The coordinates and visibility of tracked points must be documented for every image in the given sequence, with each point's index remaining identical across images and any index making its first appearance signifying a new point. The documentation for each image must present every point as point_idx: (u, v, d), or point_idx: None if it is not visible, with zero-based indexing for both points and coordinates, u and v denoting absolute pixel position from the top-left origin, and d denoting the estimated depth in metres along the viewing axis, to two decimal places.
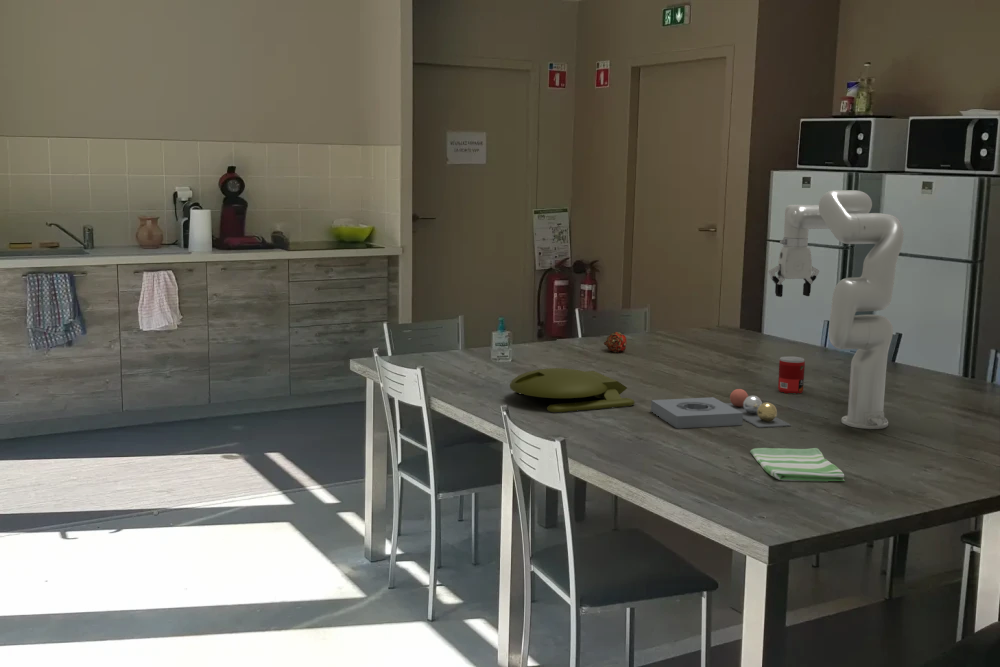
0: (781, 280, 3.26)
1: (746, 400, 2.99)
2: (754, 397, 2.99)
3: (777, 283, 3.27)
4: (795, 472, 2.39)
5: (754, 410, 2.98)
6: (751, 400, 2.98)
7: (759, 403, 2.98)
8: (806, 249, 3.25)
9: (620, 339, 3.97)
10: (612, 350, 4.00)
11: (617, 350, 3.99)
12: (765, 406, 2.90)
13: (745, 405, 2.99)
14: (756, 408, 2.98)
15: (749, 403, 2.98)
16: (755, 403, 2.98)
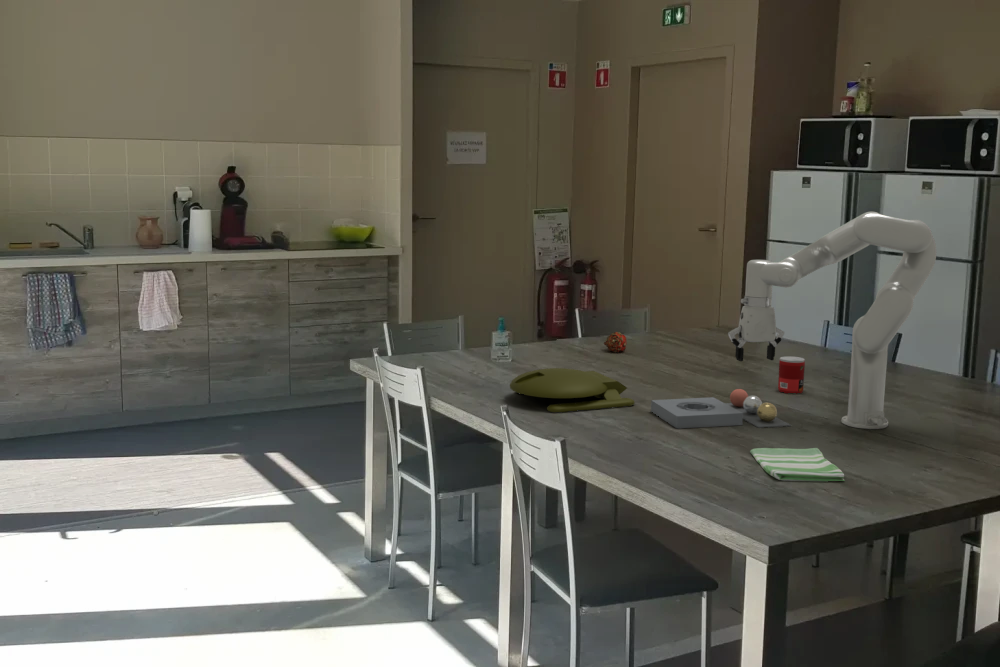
0: (742, 343, 2.96)
1: (746, 400, 2.99)
2: (754, 397, 2.99)
3: (737, 346, 2.96)
4: (795, 472, 2.39)
5: (754, 410, 2.98)
6: (751, 400, 2.98)
7: (759, 403, 2.98)
8: (769, 309, 2.94)
9: (620, 339, 3.97)
10: (612, 350, 4.00)
11: (617, 350, 3.99)
12: (765, 406, 2.90)
13: (745, 405, 2.99)
14: (756, 408, 2.98)
15: (749, 403, 2.98)
16: (755, 403, 2.98)
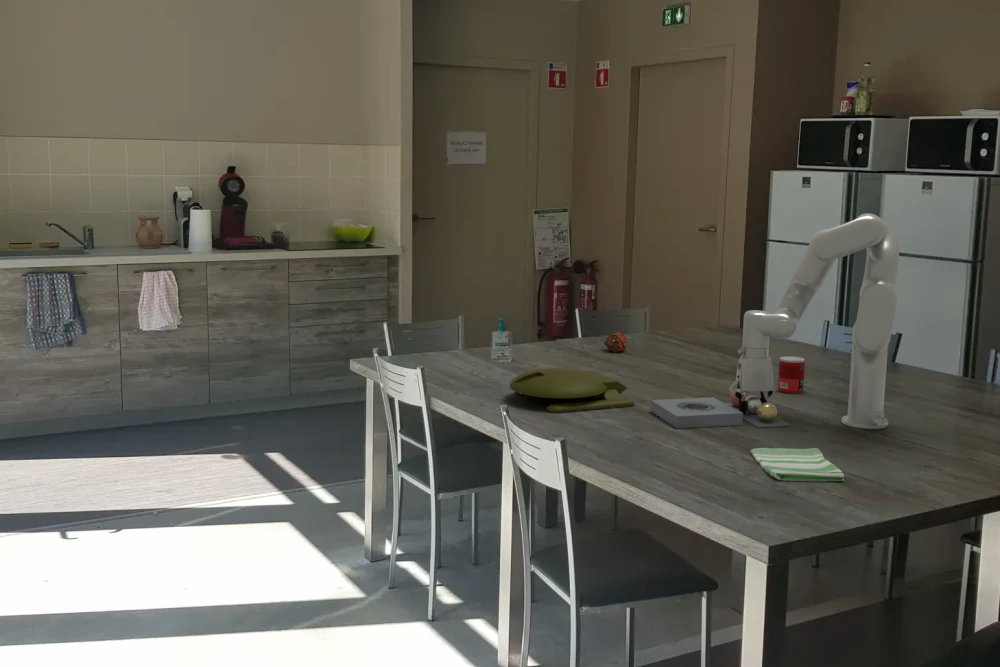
0: (744, 396, 2.98)
1: (746, 400, 2.99)
2: (754, 397, 2.99)
3: (741, 400, 2.98)
4: (795, 472, 2.39)
5: (754, 410, 2.98)
6: (751, 400, 2.98)
7: (759, 403, 2.98)
8: (767, 360, 2.96)
9: (620, 339, 3.97)
10: (612, 350, 4.00)
11: (617, 350, 3.99)
12: (765, 406, 2.90)
13: None
14: (756, 408, 2.98)
15: (749, 403, 2.98)
16: (755, 403, 2.98)
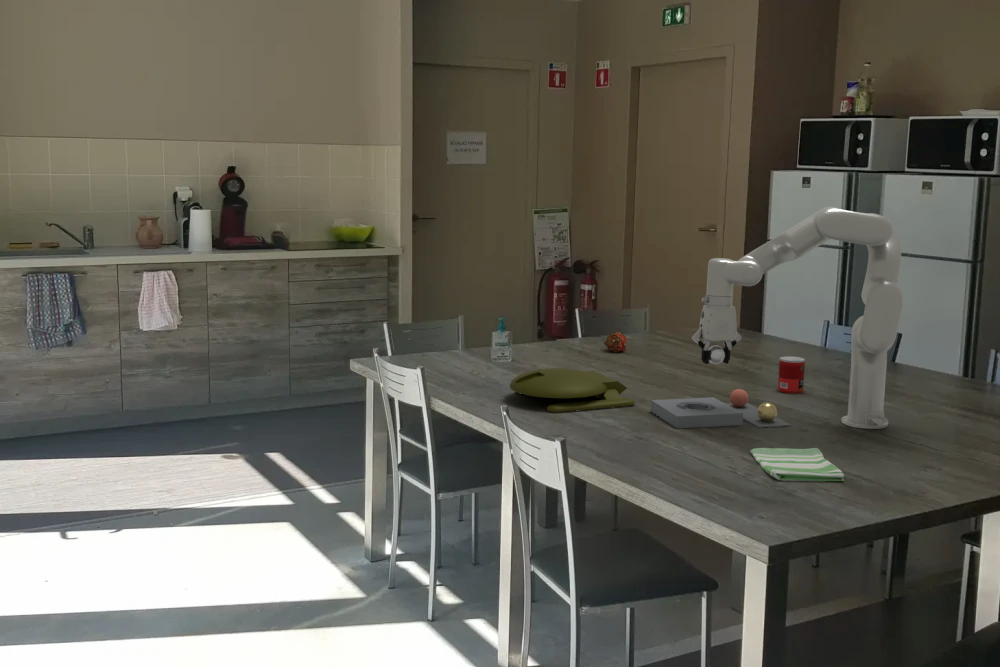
0: (707, 345, 2.93)
1: (709, 350, 2.94)
2: (717, 347, 2.94)
3: (703, 349, 2.93)
4: (795, 472, 2.39)
5: (717, 360, 2.93)
6: (714, 349, 2.93)
7: (722, 353, 2.93)
8: (730, 308, 2.91)
9: (620, 339, 3.97)
10: (612, 350, 4.00)
11: (617, 350, 3.99)
12: (765, 406, 2.90)
13: None
14: (719, 358, 2.93)
15: (711, 352, 2.93)
16: (718, 353, 2.93)
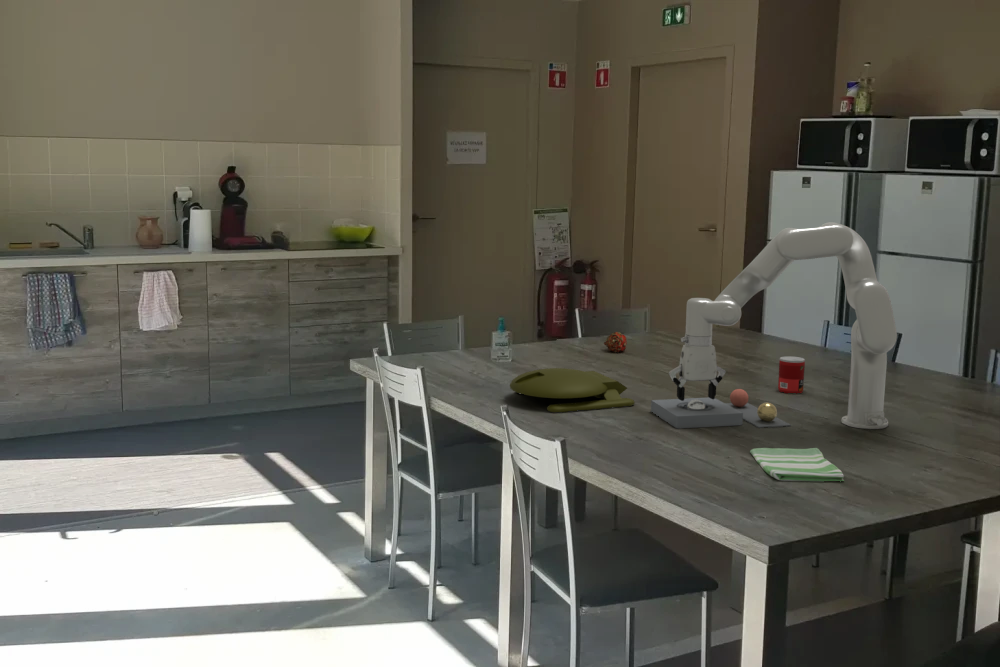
0: (683, 382, 2.93)
1: (689, 404, 2.96)
2: (697, 401, 2.95)
3: (678, 386, 2.93)
4: (794, 472, 2.39)
5: None
6: (694, 404, 2.95)
7: (702, 407, 2.94)
8: (710, 348, 2.92)
9: (620, 339, 3.97)
10: (612, 350, 4.00)
11: (617, 350, 3.99)
12: (765, 406, 2.90)
13: None
14: None
15: (691, 407, 2.95)
16: (698, 407, 2.94)
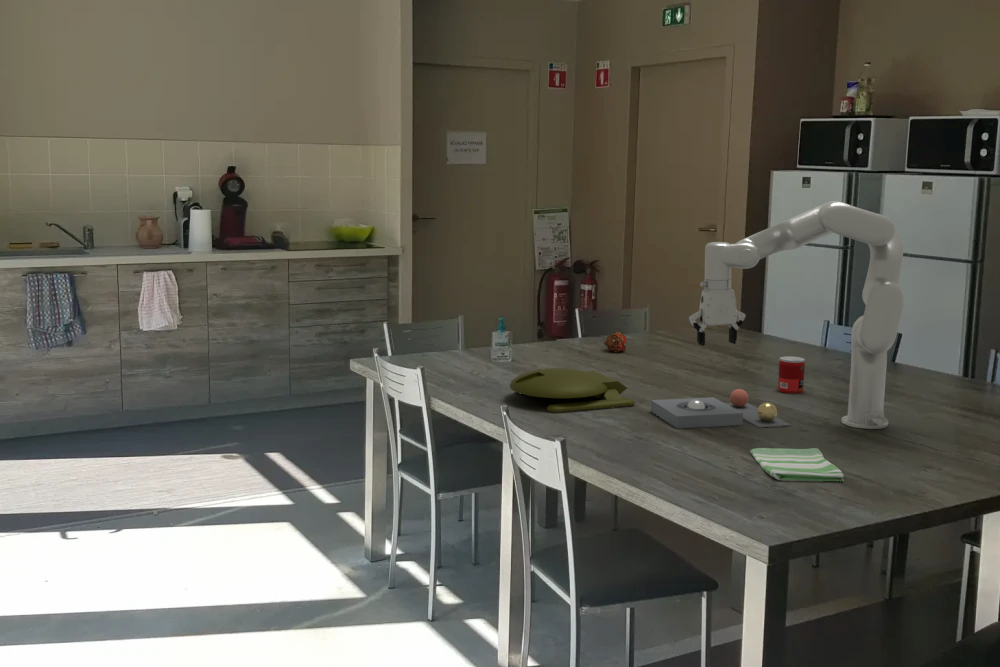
0: (703, 327, 2.92)
1: (689, 404, 2.96)
2: (697, 401, 2.95)
3: (699, 330, 2.92)
4: (794, 472, 2.39)
5: None
6: (694, 404, 2.95)
7: (702, 407, 2.94)
8: (729, 292, 2.91)
9: (620, 339, 3.97)
10: (612, 350, 4.00)
11: (617, 350, 3.99)
12: (765, 406, 2.90)
13: None
14: None
15: (691, 407, 2.95)
16: (698, 407, 2.94)
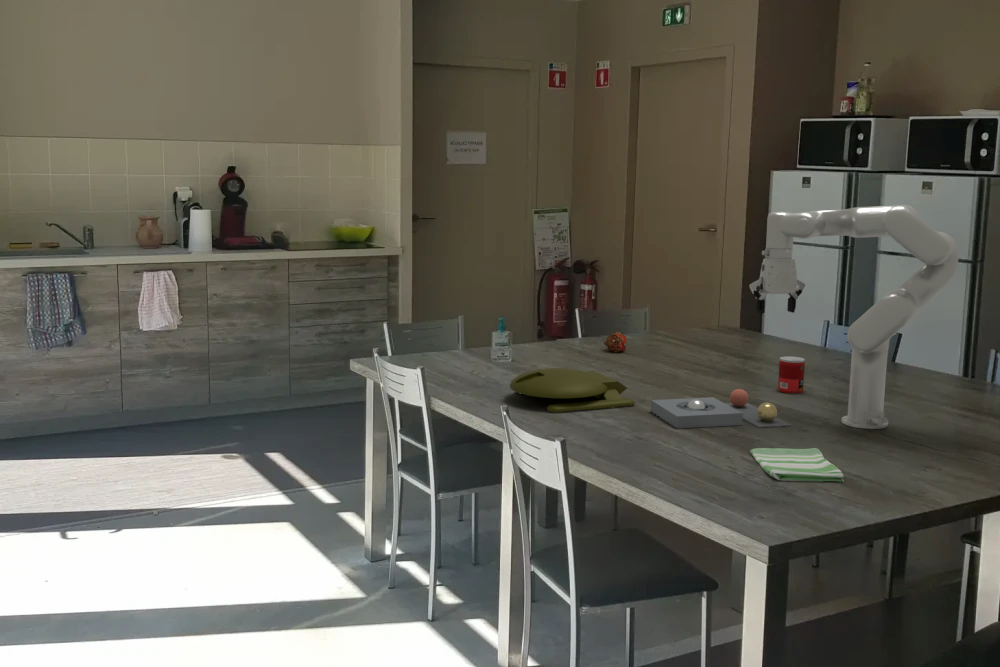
0: (763, 295, 2.96)
1: (689, 404, 2.96)
2: (697, 401, 2.95)
3: (759, 298, 2.97)
4: (794, 472, 2.39)
5: None
6: (694, 404, 2.95)
7: (702, 407, 2.95)
8: (790, 261, 2.95)
9: (620, 339, 3.97)
10: (612, 350, 4.00)
11: (617, 350, 3.99)
12: (765, 406, 2.90)
13: None
14: None
15: (691, 407, 2.95)
16: (698, 407, 2.94)
